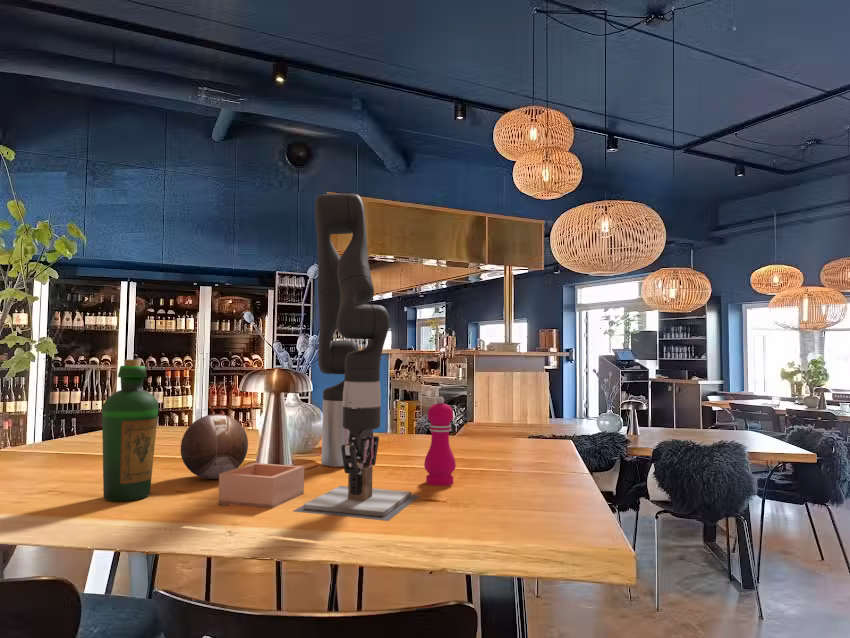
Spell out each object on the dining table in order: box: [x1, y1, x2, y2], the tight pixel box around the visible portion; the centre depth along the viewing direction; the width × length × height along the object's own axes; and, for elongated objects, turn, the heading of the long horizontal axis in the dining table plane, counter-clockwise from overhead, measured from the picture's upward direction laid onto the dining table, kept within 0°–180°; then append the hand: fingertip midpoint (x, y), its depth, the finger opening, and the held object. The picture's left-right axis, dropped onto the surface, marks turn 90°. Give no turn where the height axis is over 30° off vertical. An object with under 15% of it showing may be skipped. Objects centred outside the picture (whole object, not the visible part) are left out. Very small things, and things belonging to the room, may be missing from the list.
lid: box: [303, 465, 412, 517], centre depth 114 cm, size 16×16×7 cm
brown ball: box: [180, 413, 249, 480], centre depth 137 cm, size 15×15×15 cm
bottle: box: [101, 359, 160, 503], centre depth 118 cm, size 11×11×28 cm
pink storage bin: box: [217, 462, 305, 509], centre depth 117 cm, size 12×12×6 cm
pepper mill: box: [423, 396, 456, 487], centre depth 133 cm, size 7×7×20 cm
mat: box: [293, 494, 421, 522], centre depth 113 cm, size 19×19×1 cm
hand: (360, 491), depth 114 cm, fingers closed on lid, 3 cm apart
